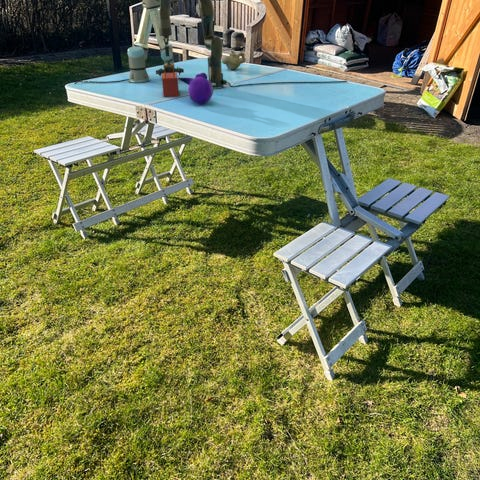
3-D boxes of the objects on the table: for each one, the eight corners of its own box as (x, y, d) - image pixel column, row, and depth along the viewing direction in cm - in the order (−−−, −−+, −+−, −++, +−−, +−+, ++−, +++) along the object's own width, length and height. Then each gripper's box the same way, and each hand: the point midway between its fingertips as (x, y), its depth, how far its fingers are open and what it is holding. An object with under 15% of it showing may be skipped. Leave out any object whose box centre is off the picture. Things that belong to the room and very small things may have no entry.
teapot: (225, 71, 366) (225, 52, 358) (219, 69, 374) (218, 50, 367) (248, 69, 375) (247, 49, 367) (241, 67, 383) (240, 48, 376)
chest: (179, 96, 293) (177, 78, 288) (163, 97, 292) (162, 79, 287) (178, 90, 308) (176, 74, 303) (163, 91, 307) (162, 74, 301)
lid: (177, 79, 287) (176, 65, 283) (162, 79, 286) (160, 66, 282) (176, 73, 303) (175, 60, 298) (162, 74, 301) (160, 61, 297)
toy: (201, 95, 293) (213, 109, 272) (175, 90, 286) (185, 105, 265) (206, 70, 285) (219, 83, 264) (179, 65, 278) (190, 78, 257)
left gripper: (186, 72, 343) (187, 77, 325) (153, 74, 341) (153, 80, 323) (185, 62, 340) (186, 66, 321) (152, 64, 337) (151, 69, 319)
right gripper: (171, 27, 268) (173, 56, 277) (170, 25, 280) (173, 53, 289) (158, 28, 267) (161, 57, 276) (158, 26, 280) (161, 54, 288)
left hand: (170, 73), depth 322 cm, fingers open, 13 cm apart
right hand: (167, 55), depth 282 cm, fingers open, 8 cm apart
